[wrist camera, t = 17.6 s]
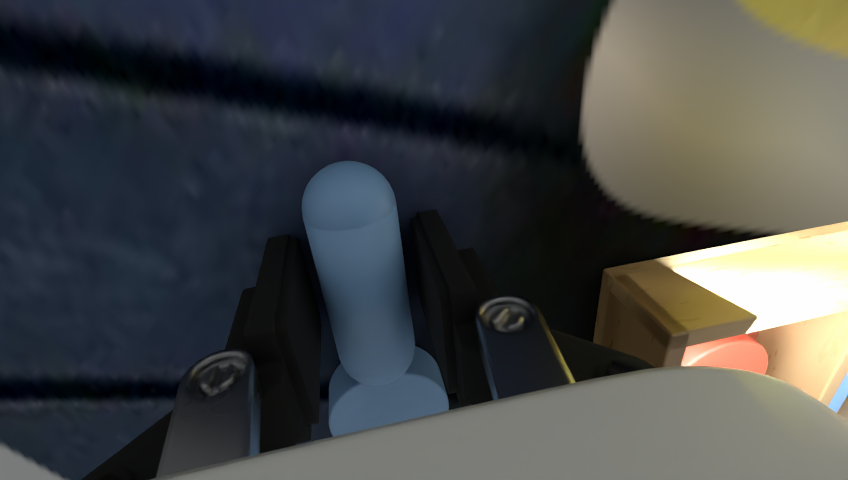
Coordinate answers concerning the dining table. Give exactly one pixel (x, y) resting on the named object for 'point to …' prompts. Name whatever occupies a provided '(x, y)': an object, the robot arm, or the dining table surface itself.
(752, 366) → the red knob peg
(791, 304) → the caddy
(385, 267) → the blue disc-ended peg
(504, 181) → the dining table surface
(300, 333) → the robot arm
